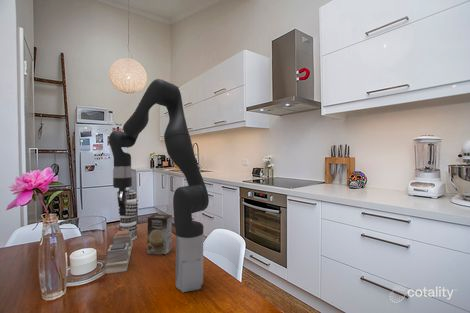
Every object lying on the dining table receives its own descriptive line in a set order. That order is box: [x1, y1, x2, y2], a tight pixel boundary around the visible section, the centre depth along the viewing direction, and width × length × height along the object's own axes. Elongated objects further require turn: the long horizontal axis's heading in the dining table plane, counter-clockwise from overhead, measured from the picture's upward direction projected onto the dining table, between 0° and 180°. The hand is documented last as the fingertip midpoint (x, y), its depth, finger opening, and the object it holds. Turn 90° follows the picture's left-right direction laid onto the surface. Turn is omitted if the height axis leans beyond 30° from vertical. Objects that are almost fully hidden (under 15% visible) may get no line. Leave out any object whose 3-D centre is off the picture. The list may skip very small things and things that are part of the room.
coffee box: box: [146, 213, 173, 256], centre depth 104 cm, size 9×6×16 cm
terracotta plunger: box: [116, 230, 129, 237], centre depth 103 cm, size 4×4×5 cm
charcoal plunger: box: [111, 243, 125, 250], centre depth 90 cm, size 4×4×5 cm
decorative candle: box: [118, 188, 139, 241], centre depth 120 cm, size 9×9×25 cm
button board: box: [105, 232, 133, 275], centre depth 97 cm, size 24×7×8 cm, turn 19°
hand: (122, 215), depth 103 cm, fingers closed
